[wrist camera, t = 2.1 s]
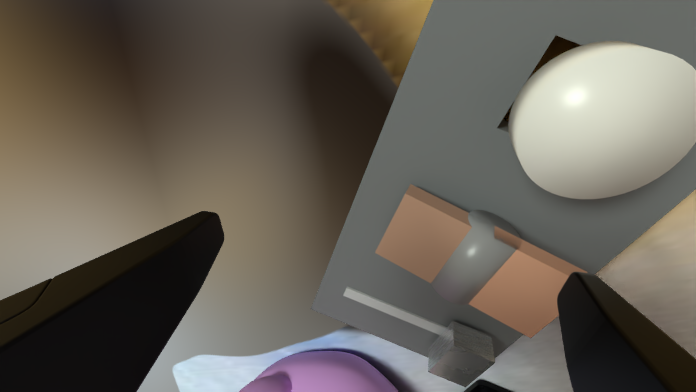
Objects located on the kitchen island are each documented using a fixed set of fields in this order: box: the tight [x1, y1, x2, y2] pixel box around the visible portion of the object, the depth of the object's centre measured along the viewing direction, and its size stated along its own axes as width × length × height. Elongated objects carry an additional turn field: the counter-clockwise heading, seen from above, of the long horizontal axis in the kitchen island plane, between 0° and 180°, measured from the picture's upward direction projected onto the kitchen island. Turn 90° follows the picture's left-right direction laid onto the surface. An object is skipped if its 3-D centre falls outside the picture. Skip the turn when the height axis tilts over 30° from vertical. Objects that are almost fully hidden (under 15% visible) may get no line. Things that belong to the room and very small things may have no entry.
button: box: [508, 41, 696, 199], centre depth 13 cm, size 6×6×4 cm
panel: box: [311, 0, 696, 358], centre depth 20 cm, size 15×27×2 cm, turn 163°
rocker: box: [375, 184, 587, 338], centre depth 18 cm, size 10×5×3 cm, turn 73°
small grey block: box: [428, 321, 495, 387], centre depth 24 cm, size 3×4×2 cm
